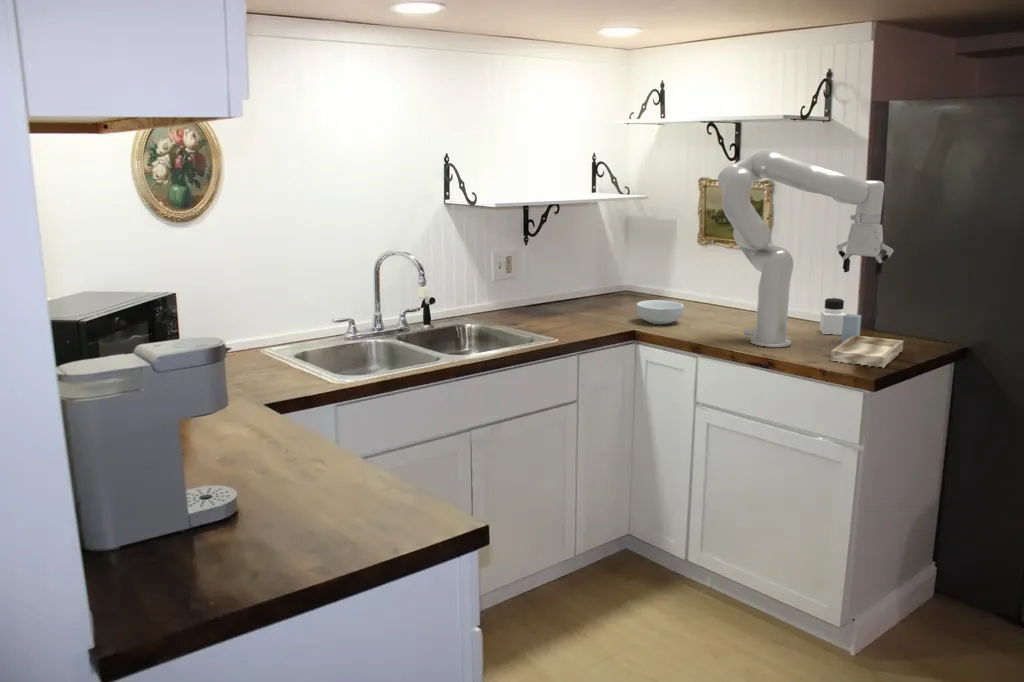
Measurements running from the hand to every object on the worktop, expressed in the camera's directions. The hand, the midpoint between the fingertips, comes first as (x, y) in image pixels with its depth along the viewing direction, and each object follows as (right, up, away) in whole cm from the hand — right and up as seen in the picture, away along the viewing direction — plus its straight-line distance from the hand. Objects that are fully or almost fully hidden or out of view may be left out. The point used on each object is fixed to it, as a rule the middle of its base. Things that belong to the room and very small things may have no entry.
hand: (861, 273), depth 270 cm
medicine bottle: (-2, -19, +19) cm, 27 cm away
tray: (-4, -26, -13) cm, 30 cm away
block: (-2, -22, +5) cm, 23 cm away
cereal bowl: (-58, -15, +38) cm, 72 cm away
